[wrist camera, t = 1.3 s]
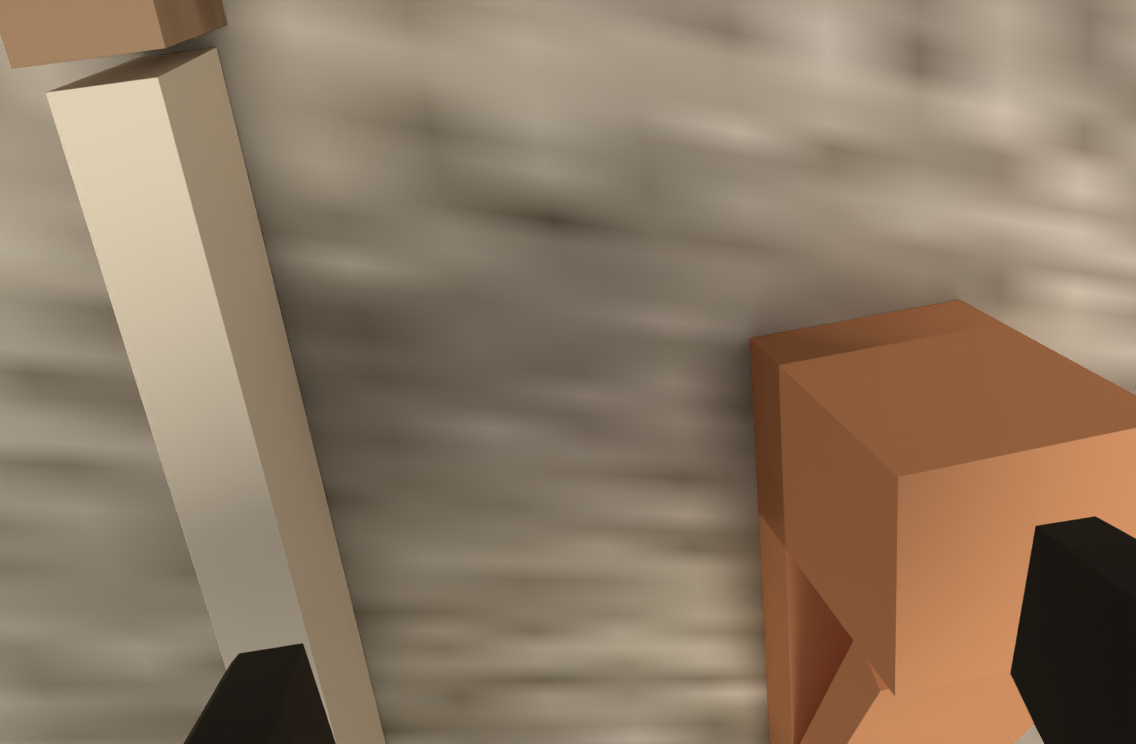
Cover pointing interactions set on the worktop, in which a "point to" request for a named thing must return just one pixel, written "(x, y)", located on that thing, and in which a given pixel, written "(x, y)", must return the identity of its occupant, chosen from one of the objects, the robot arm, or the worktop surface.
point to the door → (215, 363)
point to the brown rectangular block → (100, 27)
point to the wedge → (917, 516)
